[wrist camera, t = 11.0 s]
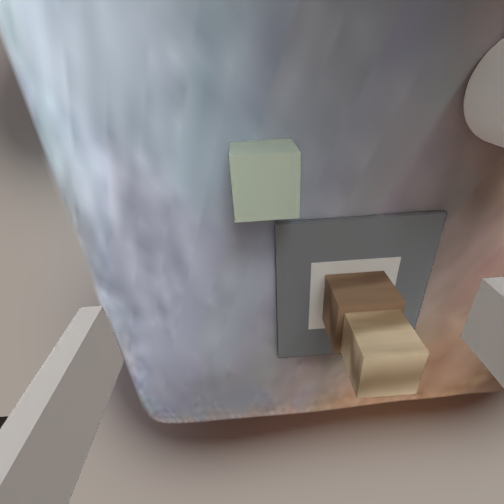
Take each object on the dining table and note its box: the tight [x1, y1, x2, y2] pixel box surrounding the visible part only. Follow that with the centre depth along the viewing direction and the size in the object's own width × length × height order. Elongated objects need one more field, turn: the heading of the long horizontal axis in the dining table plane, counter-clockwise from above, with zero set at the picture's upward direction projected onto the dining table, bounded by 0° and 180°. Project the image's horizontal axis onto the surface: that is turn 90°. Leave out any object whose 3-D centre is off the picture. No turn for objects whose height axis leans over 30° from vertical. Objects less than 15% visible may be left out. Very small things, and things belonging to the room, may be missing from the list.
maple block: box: [340, 309, 429, 398], centre depth 27 cm, size 5×5×5 cm
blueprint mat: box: [275, 210, 447, 358], centre depth 34 cm, size 18×16×1 cm
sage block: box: [229, 138, 301, 223], centre depth 25 cm, size 5×5×5 cm
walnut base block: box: [322, 271, 406, 354], centre depth 32 cm, size 6×6×5 cm
